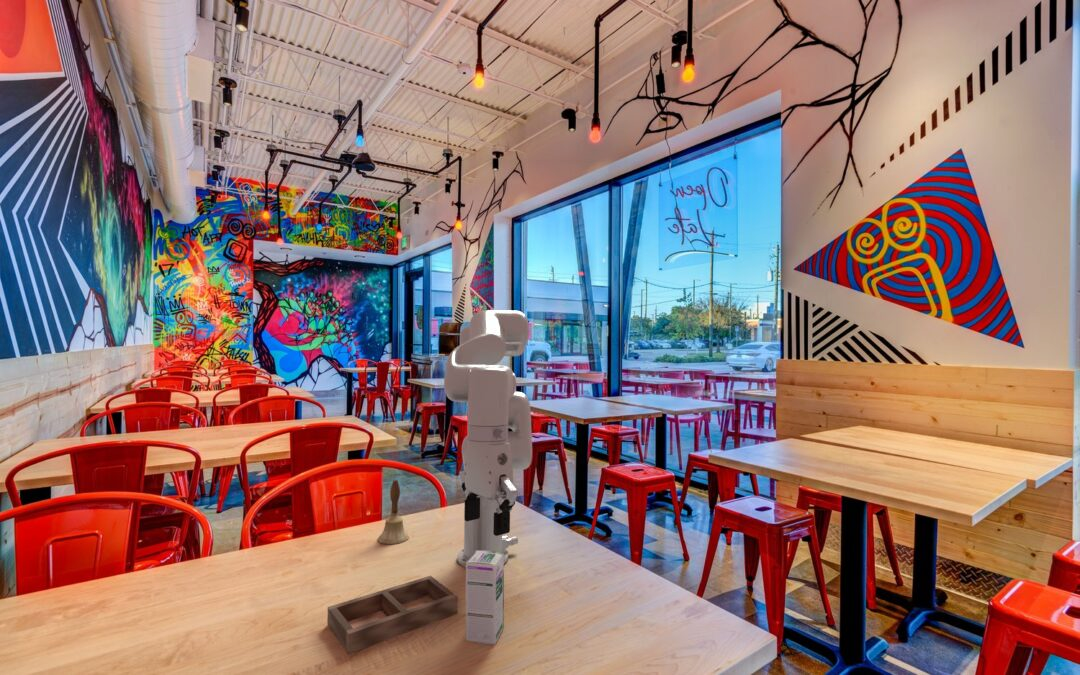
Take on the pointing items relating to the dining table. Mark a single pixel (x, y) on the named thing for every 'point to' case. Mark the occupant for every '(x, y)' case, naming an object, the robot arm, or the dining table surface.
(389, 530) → the hand bell
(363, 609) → the rack
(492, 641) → the syrup box
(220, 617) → the dining table surface
